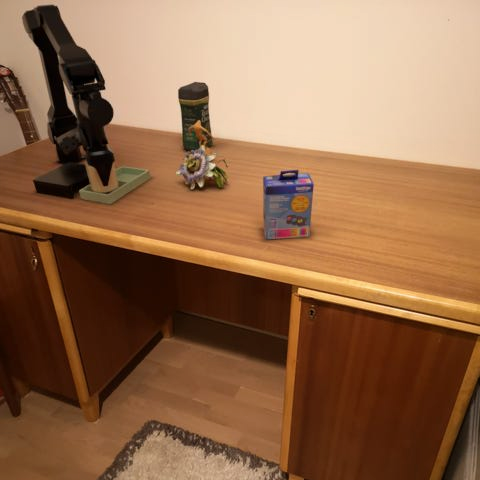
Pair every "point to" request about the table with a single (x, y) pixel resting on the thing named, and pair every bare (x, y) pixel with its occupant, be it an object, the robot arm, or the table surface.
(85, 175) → the flat black slab base
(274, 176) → the ink cartridge box
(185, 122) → the coffee jar
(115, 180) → the cup
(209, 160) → the passion flower
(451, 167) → the table surface
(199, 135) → the figurine
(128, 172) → the tray
